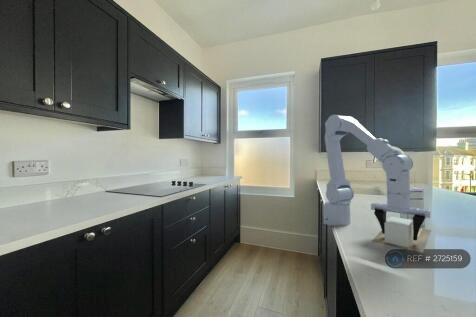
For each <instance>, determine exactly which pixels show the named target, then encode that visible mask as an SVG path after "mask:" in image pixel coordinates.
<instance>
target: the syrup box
mask: <svg viewBox="0 0 476 317" xmlns="http://www.w3.org/2000/svg"><path fill="white" fill-rule="evenodd" d="M424 194H425V193H424V189H421V188H419V187H415V186H412V187H411V186H410V207H414V208H420V209H425V195H424ZM399 214H400V217H399V218H403V219H410V220H413V217H414V215H409V214H402V213H399ZM423 227H424V228H425V227H426V219H425V220H424V221H423V223H422V225H421V227H420V228H423Z"/></svg>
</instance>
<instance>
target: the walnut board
mask: <svg viewBox="0 0 476 317" xmlns="http://www.w3.org/2000/svg"><path fill="white" fill-rule="evenodd" d="M413 231H414V228H413ZM431 231H432V230H431V229H427V228H423V227H420V229H419V232H418V236H417V240H412V242H411V244H410V246H409V248H407V247H403V246H399V245H395V244H390V243H386V242H385V234H383V233H382V230H380V232H379V233H378V234H377V235H376V236H375V237H374V238H373V239H372V240H371V242H374V243H378V244H384V245H387V246H392V247H395V248H399V249H403V250H407V251H411V252H412V251H413V252H415V253H420V254H424V251H425V248H426V245H427V244H428V240H429V237H430V234H431Z"/></svg>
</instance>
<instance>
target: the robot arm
mask: <svg viewBox="0 0 476 317" xmlns="http://www.w3.org/2000/svg"><path fill="white" fill-rule="evenodd" d="M324 125H325V126H324V127H325V133H324V144H325V150H326V158H327V164H328V171H329V177H330V178H329V181H328V182H327V183H326V190H325V197H326V200H327V201H325V202H324V204H323V222H322V223H323V224H324V225H327V226H332V227H335V226H337V225H338V226H349V225H351V203H352V200H353V198H354V196H355V193H354V189H353V187H352V186H351V182H350V181H349V180H348V179H346V174H345V167H344V161H343V154H342V149H341V140H342V138H343V137H345V136H346V135H347V134H349V133H350V134H352V135H353V136H355V137H356V138H357V139H359V140H360V141H361V142H362V143H363V144H365V145H366V150H367V152H368V153H370V154H371V155H372V156H373V157H374V158H375V159H377V161H378V162H380V163H381V167H382V169H383V171H384V173H385V177H386V203H375V202H372V203H370V210H371V211H372V210H373V214H374V215H375V217H376V219H377V221H378V224H379V226H380V229H381V231H382V233H383V234H385V222H386V221H387V212H388V213H395V214H400V213H402V214H409V215H414V217H413V228H414V231H413V240H417V236H418V232H419V229H420V228H422V227H421V225H422V223H423V221H424V220H425V221H426V219H431V216H432V214H431V209H425V208H424V209H420V208H414V207H410V187H411V181H410V170H412V169H413V167H414V161H413V159H412V158H411V156H410V155H408V154H405V153H401V151H400V150H399V149H396V148H394V147H393V146H392V145H391V144H390V143H389V140H388V139H386V138H381V137H379V138H376V137H375V136H373V134H372V133H370V131H368V130H367V129H366V128H365V127H364V126H363V125H362V124H361V123H360V122H359V121H358V120H357V119H356V118H354V117H353V116H349V115H347V116H346V115H339V114H332V115H330V116H329V117H328V119H326V121H325V123H324Z"/></svg>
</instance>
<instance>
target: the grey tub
mask: <svg viewBox="0 0 476 317" xmlns="http://www.w3.org/2000/svg"><path fill="white" fill-rule="evenodd" d="M412 240H413V220H410V219H403V218H400V217H397V216H390V217H389V218H388V219H386V222H385V242H386V243H390V244H395V245H399V246H403V247H407V248H409V246H410V244H411V242H412Z"/></svg>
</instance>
